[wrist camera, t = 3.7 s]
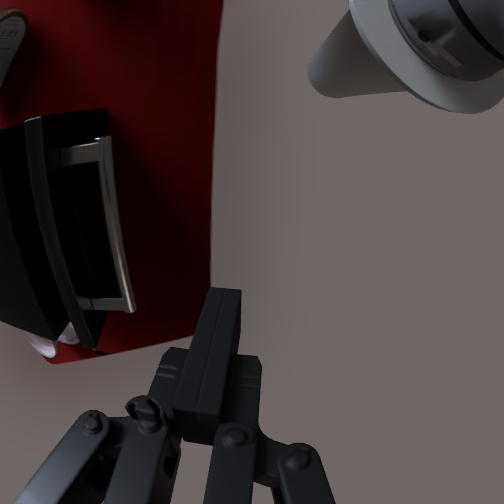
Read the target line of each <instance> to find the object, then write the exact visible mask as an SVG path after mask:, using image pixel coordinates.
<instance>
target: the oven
mask: <svg viewBox="0 0 504 504" xmlns="http://www.w3.org/2000/svg"><path fill="white" fill-rule="evenodd" d="M0 321H2V322H4V323H7V324H9V325H12V326H14V327H17V328H19V329H22V330H24V331H27V332H30V333H32V334H35V335H38V336H40V337H43V338H46V339H49V340H52V341H55V342H56V341H57V339H58V338H59V337H60V335H61V334H62V332H63V331H64V330H65V328H66V327H67V326H68V324H69V323H70V322H71V321H70V319H69V316H68V314H67V311H66V309H65V306H64V304H63V301H62V299H61V296H60V293H59V290H58V287H57V285H56V282H55V279H54V276H53V273H52V270H51V266H50V263H49V260H48V257H47V253H46V250H45V246H44V242H43V239H42V235H41V231H40V227H39V222H38V218H37V213H36V209H35V204H34V199H33V193H32V187H31V181H30V175H29V167H28V159H27V150H26V139H25V123H22V124H18V125H14V126H10V127H7V128H3V129H0Z"/></svg>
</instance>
